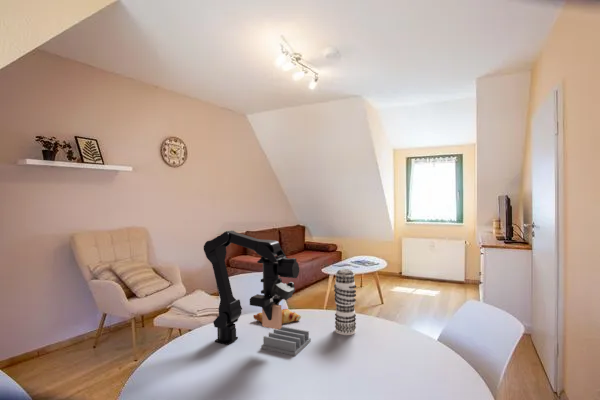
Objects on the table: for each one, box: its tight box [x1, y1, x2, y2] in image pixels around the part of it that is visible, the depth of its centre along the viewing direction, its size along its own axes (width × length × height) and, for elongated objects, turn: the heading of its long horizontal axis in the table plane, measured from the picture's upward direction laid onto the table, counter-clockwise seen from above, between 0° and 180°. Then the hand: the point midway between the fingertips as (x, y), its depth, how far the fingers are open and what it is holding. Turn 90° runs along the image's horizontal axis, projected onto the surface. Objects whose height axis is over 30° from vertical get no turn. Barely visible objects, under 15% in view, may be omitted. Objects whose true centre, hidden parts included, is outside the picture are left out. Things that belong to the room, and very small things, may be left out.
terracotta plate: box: [261, 304, 283, 330], centre depth 118 cm, size 7×2×8 cm, turn 62°
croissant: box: [253, 308, 302, 325], centre depth 146 cm, size 21×10×8 cm, turn 93°
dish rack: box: [260, 325, 312, 357], centre depth 122 cm, size 14×13×4 cm
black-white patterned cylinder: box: [333, 268, 357, 336], centre depth 135 cm, size 9×9×25 cm
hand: (271, 318), depth 118 cm, fingers closed on terracotta plate, 2 cm apart
